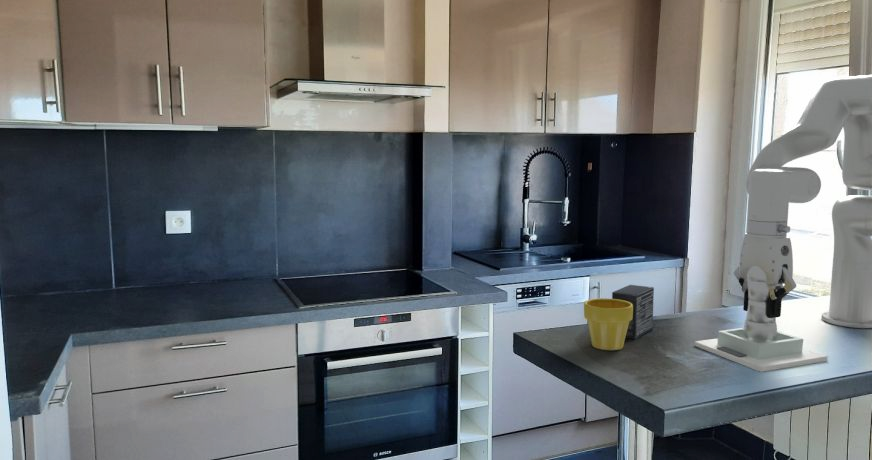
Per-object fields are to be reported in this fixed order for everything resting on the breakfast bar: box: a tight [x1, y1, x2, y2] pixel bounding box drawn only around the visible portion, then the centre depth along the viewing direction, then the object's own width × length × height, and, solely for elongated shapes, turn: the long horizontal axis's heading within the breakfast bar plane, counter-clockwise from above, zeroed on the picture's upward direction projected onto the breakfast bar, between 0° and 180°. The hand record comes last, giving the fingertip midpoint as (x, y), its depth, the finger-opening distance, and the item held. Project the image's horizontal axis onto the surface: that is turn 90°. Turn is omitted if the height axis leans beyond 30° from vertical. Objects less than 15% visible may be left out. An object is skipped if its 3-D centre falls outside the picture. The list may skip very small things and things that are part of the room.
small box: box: [611, 284, 655, 340], centre depth 156 cm, size 11×6×10 cm, turn 141°
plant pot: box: [583, 297, 633, 351], centre depth 145 cm, size 10×10×10 cm
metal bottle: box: [743, 266, 778, 343], centre depth 139 cm, size 6×7×20 cm
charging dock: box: [694, 327, 829, 373], centre depth 140 cm, size 18×18×4 cm
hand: (761, 312), depth 139 cm, fingers closed on metal bottle, 5 cm apart
